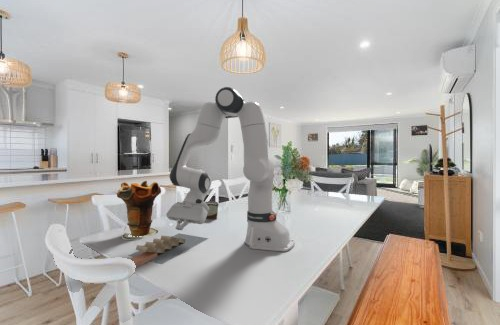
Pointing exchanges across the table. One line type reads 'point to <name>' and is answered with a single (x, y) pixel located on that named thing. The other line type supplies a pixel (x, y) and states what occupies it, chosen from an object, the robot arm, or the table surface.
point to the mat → (175, 248)
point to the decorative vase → (139, 208)
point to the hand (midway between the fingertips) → (178, 229)
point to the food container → (212, 210)
